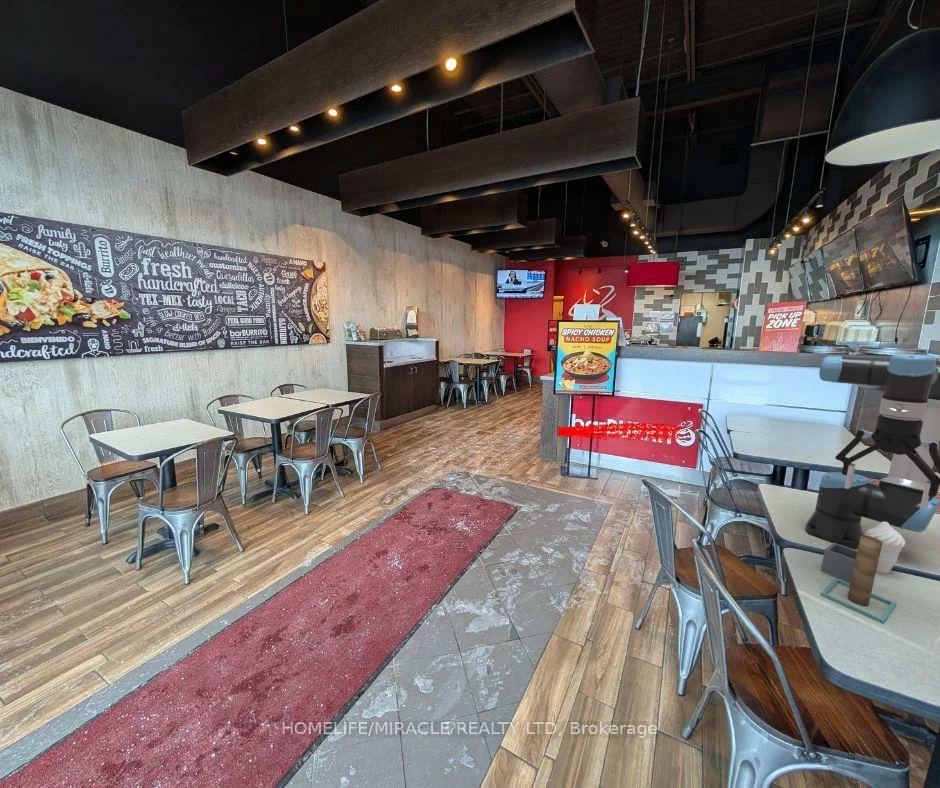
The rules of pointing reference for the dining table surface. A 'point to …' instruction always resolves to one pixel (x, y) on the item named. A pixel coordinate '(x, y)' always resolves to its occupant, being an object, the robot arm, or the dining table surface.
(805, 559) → the dining table surface
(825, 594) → the tray
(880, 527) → the soft serve ice cream cone
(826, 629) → the dining table surface
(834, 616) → the dining table surface
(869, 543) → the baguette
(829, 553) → the open box
